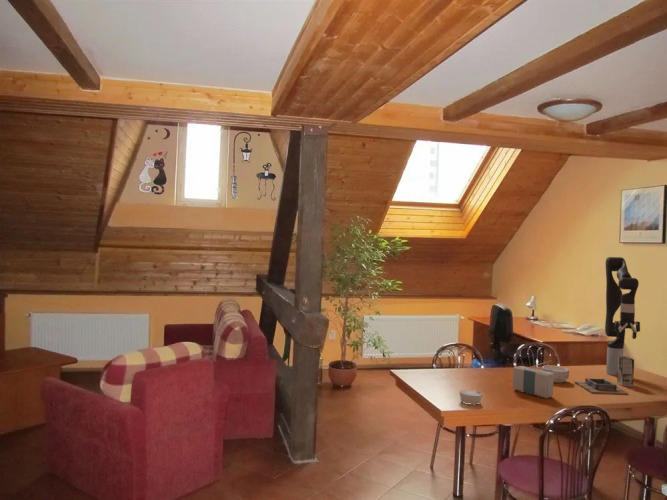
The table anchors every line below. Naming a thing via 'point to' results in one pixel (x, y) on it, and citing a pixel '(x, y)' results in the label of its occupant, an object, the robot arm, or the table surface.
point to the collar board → (600, 386)
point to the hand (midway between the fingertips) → (626, 338)
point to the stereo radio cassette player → (533, 381)
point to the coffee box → (625, 371)
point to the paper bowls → (557, 372)
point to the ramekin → (470, 396)
